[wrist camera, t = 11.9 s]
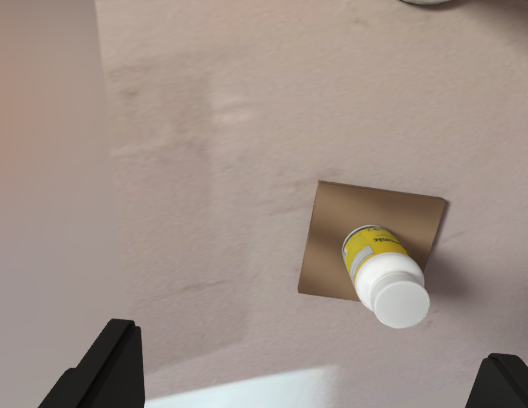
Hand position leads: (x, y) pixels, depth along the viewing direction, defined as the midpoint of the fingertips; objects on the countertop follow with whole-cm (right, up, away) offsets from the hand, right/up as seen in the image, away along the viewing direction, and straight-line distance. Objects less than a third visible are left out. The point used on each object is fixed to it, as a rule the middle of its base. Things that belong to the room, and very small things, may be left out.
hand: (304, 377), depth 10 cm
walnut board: (+9, +1, +26) cm, 27 cm away
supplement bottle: (+9, 0, +25) cm, 27 cm away
